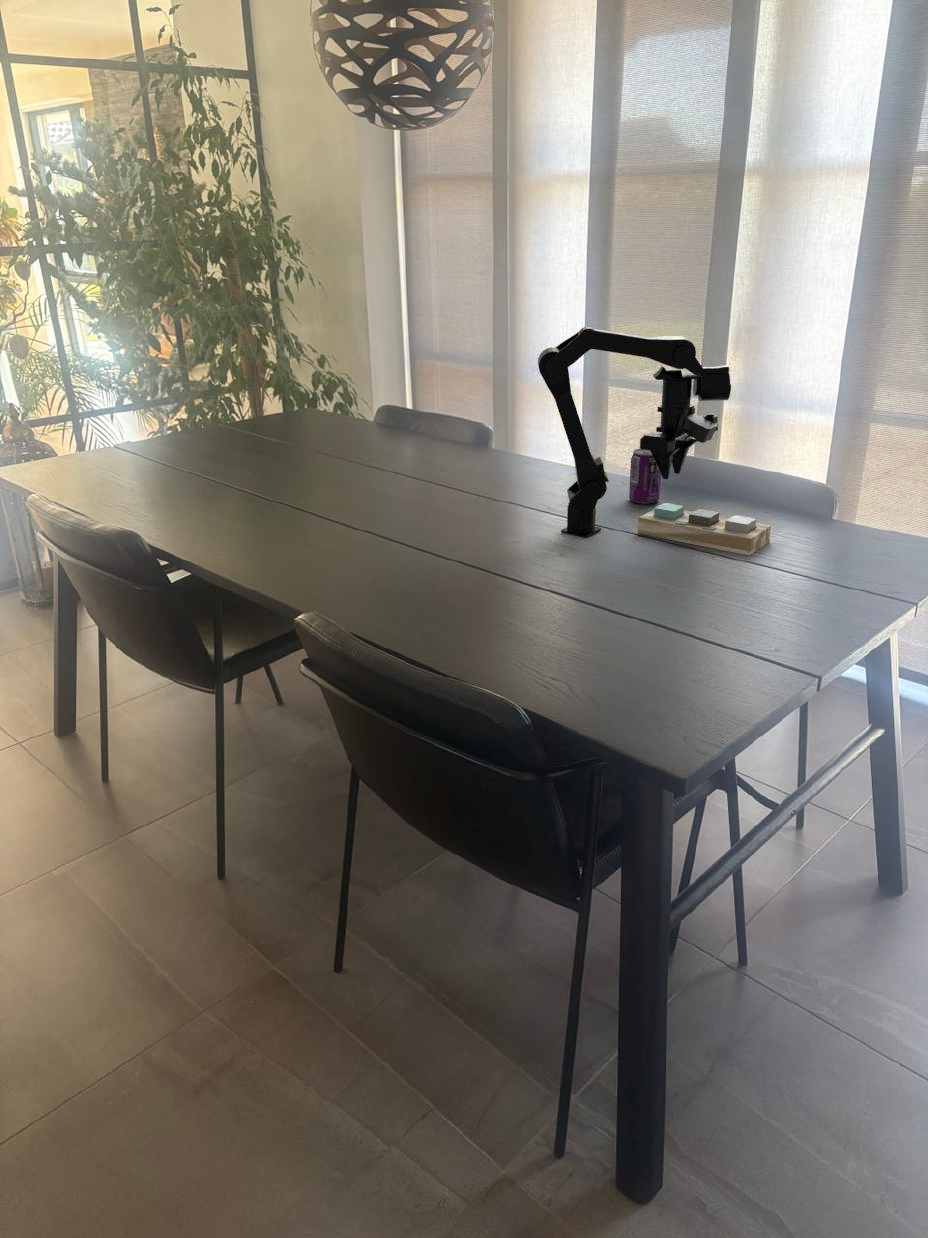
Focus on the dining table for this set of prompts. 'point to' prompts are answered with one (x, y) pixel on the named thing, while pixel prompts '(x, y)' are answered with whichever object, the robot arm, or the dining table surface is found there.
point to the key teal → (669, 511)
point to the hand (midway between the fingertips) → (671, 476)
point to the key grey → (740, 524)
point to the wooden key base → (705, 533)
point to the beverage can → (644, 478)
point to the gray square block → (704, 517)
